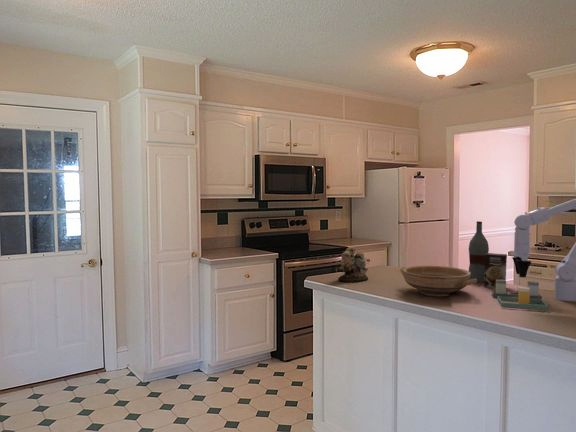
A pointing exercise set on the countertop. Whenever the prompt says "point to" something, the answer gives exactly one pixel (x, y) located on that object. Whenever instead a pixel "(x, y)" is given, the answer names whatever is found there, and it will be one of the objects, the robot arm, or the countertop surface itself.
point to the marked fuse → (523, 295)
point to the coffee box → (494, 269)
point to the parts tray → (518, 305)
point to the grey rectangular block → (533, 288)
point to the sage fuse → (501, 286)
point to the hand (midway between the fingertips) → (521, 275)
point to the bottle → (478, 254)
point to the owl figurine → (353, 266)
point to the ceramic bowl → (437, 279)
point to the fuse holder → (512, 295)
